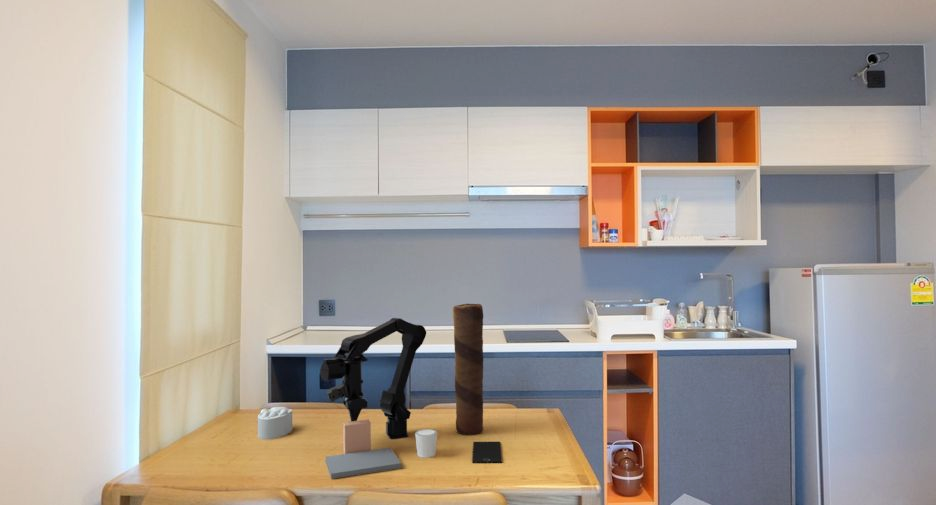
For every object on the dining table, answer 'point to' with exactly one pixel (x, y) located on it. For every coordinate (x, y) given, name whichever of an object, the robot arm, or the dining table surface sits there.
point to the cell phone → (486, 452)
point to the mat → (362, 462)
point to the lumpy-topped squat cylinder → (274, 423)
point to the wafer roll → (468, 367)
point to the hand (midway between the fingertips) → (353, 424)
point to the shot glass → (426, 442)
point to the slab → (357, 436)
